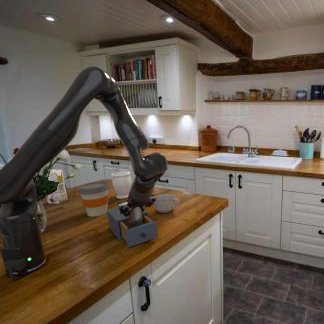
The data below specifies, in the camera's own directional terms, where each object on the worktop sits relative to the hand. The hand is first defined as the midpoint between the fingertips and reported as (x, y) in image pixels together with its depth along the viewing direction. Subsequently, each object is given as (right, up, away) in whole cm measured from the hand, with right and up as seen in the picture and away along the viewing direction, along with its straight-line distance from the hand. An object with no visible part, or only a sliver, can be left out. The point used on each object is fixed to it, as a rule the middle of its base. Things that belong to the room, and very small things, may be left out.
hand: (133, 212), depth 101 cm
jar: (-30, -1, +51) cm, 60 cm away
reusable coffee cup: (-32, -6, +27) cm, 42 cm away
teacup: (+5, -5, +28) cm, 29 cm away
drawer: (+1, -10, +1) cm, 10 cm away
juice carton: (-65, -3, +43) cm, 78 cm away
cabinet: (-6, -9, +9) cm, 14 cm away
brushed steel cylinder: (+1, -8, 0) cm, 8 cm away
